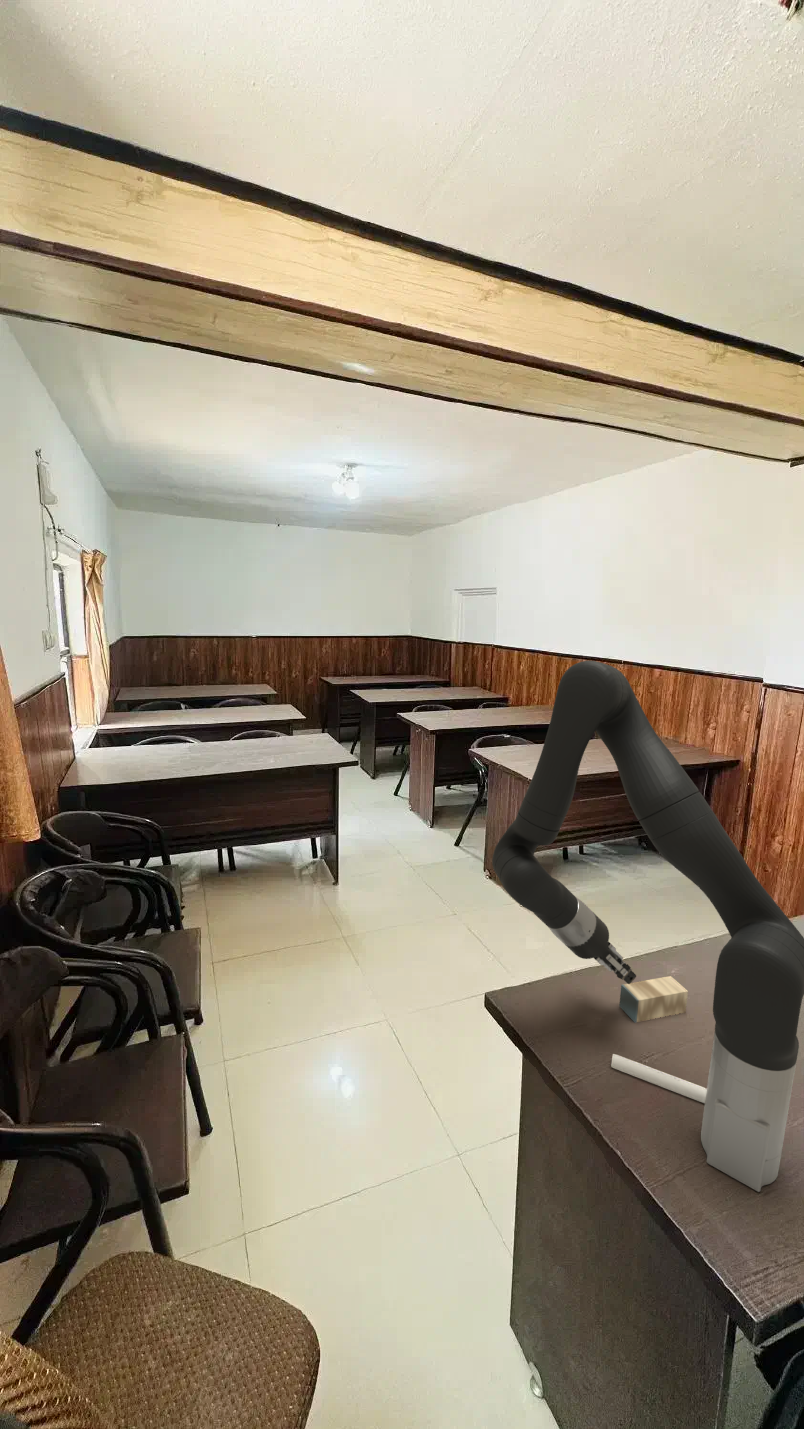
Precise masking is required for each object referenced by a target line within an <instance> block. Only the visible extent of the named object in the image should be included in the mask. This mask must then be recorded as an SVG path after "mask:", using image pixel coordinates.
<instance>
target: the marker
mask: <svg viewBox="0 0 804 1429" xmlns="http://www.w3.org/2000/svg"><path fill="white" fill-rule="evenodd" d="M611 1057H612V1058H611V1064H610V1067H611V1068H613V1069H614V1070H617V1071H619V1072H622V1073H625V1074H628V1075H630V1076H633V1077H636V1078H638V1079H640V1080H643V1081H645V1082H648V1083H650V1084H652V1085H655V1086H658V1087H661V1088H664V1089H666V1090H669V1091H672V1092H674V1093H677V1094H679V1095H682V1096H684V1097H687V1098H689V1099H692V1100H695V1101H697V1102H699V1103H702V1104H704V1105H705V1099H706V1091H707V1087H704V1086H701V1085H699V1084H696V1083H693V1082H690V1081H688V1080H685V1079H683V1078H680V1077H677V1076H675V1075H672V1074H669V1073H667V1072H663V1071H662V1070H659V1069H656V1068H653V1067H650V1066H649V1065H648V1066H647V1065H645V1064H642V1063H640V1062H639V1061H638V1062H637V1061H635V1060H632V1059H630V1058H627V1057H624V1056H621V1055H619V1054H616V1053H612V1056H611Z"/></svg>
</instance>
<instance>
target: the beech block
mask: <svg viewBox="0 0 804 1429" xmlns="http://www.w3.org/2000/svg"><path fill="white" fill-rule="evenodd" d="M688 994H689V991H688V990H687V989H686V988H685V987H684V986H683V985H682V984H680V983H679V982H678V981H677V980H676V979H675V978H673V976H671V975H669V976H663V977H657V978H651V979H647V980H642V981H641V980H640V981H633V982H631V983H630V984H627V983H624V984H620V994H619V995H620V996H619V1004H618V1006H619V1008H621V1010H623V1012H625V1014H626V1015H627V1016H628V1017H629V1018H630V1019H631V1020H632V1022H634V1023H640V1022H645V1021H649V1020H650V1019H651V1020H655V1018H656V1019H660V1017H661V1018H664V1017H665V1016H666V1017H670V1016H669V1015H671V1016H675V1014H676V1015H679V1013H681V1014H685V1013H686V1010H687V1002H688Z"/></svg>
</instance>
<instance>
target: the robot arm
mask: <svg viewBox="0 0 804 1429" xmlns="http://www.w3.org/2000/svg"><path fill="white" fill-rule="evenodd" d="M628 680H629V679H627V677H626V675H624V674H623V672H622V671H620V670H619V669H618V668H616V667H615V666H612V665H610V664H606V663H603V662H601V661H597V660H583V661H579V662H576V663H574V664H573V665H571V666H570V667H569V668H568V669H567V670H566V671H565V672H564V673H563V675H562V677H561V679H560V681H559V684H558V686H557V691H556V694H555V699H554V703H553V708H552V711H551V712H552V713H551V716H550V721H549V725H548V729H547V732H546V736H545V740H544V744H543V746H542V750H541V754H540V756H539V758H538V762H537V765H536V768H535V770H534V773H533V776H532V778H531V780H530V783H529V785H528V788H527V790H526V792H525V794H524V797H523V798H522V802H521V805H520V807H519V808H518V811H517V815H516V817H515V819H514V820H513V822H512V823H511V824H510V825H509V826H508V827H507V829H506V831H505V832H504V833H503V835H502V836H501V837H500V838H499V840H498V842H497V843H496V846H495V848H494V851H493V853H492V859H491V860H492V862H491V864H492V868H493V871H494V873H495V874H496V876H497V877H498V880H499V881H500V883H501V884H502V887H503V888H504V890H505V891H506V893H507V894H508V895H509V896H510V897H511V898H512V899H513V900H514V901H515V902H517V903H518V905H520V906H522V907H524V908H525V909H526V910H527V911H530V912H531V913H532V914H534V915H535V916H536V917H537V918H538V919H539V920H540V921H541V922H542V923H543V924H545V926H546V927H548V929H549V930H550V932H551V933H552V934H553V935H554V936H555V937H556V938H557V939H558V940H559V941H561V942H562V944H563V945H565V946H566V948H568V949H569V950H570V952H572V953H573V954H574V955H575V956H577V957H578V958H580V959H583V960H591V959H594V960H595V961H596V962H597V963H598V964H599V965H600V966H604V968H605V969H606V970H608V971H609V972H613V973H614V975H616V977H617V978H618V979H620V980H622V981H624V982H625V984H630V983H633V982H634V980H635V979H636V978H637V974H636V973H635V972H634V971H633V969H632V968H631V966H630V965H629V964H627V962H626V961H623V959H624V956H622V955H621V953H620V952H618V951H617V948H616V947H615V946H614V945H613V944H612V943H611V942H610V941H609V940H610V930H609V927H608V926H607V924H606V923H605V922H604V921H603V920H602V919H601V918H600V917H598V916H597V914H596V913H595V912H594V911H593V910H592V909H591V908H590V907H589V906H588V905H587V904H585V902H583V901H582V900H581V899H579V898H578V897H577V896H576V895H574V893H572V892H571V890H569V889H568V887H566V886H565V884H563V883H562V882H561V881H559V880H558V879H556V878H554V877H553V876H551V874H549V872H548V871H547V870H546V869H545V868H544V866H543V864H541V862H540V861H539V860H538V859H537V858H536V856H535V853H536V850H537V848H538V846H549V845H551V844H553V843H554V842H555V840H556V839H557V836H558V834H559V833H560V831H561V828H562V825H563V824H564V822H565V819H566V817H567V814H568V812H569V810H570V806H571V804H572V801H573V798H574V794H575V790H576V786H577V780H578V775H579V770H580V766H581V763H582V760H583V756H584V755H585V754H584V753H585V751H586V749H587V746H588V744H589V743H590V741H591V739H592V737H593V735H594V734H595V732H596V734H597V735H598V737H599V738H600V739H601V741H602V743H603V744H604V745H605V746H606V748H607V750H608V751H609V753H610V754H611V756H612V758H613V760H614V762H615V765H616V767H617V770H618V771H617V772H618V773H619V774H618V775H619V777H620V780H621V784H622V787H623V790H624V793H625V795H626V797H627V801H628V803H629V805H630V807H631V809H632V811H633V813H634V815H635V817H636V819H637V820H638V822H639V824H640V825H641V827H642V829H643V831H644V832H645V834H646V835H647V837H648V839H649V840H650V842H651V843H652V845H653V846H654V848H655V849H656V850H657V852H658V853H659V854H660V855H661V856H662V857H663V858H664V859H665V860H666V862H668V863H669V864H670V865H671V866H673V867H674V868H675V869H676V870H677V871H679V872H680V873H682V875H684V876H685V877H686V878H687V879H688V880H690V881H691V882H692V883H693V885H695V886H696V887H697V888H699V890H701V891H702V892H703V894H704V895H705V896H706V897H707V898H708V900H709V901H710V902H711V904H712V906H713V907H714V908H715V910H716V912H717V914H718V915H719V917H720V919H721V920H722V921H723V924H724V926H725V927H726V930H727V931H728V933H729V936H730V939H729V940H728V941H727V943H726V944H725V945H724V946H723V948H722V949H721V951H720V953H719V956H718V959H717V965H716V971H715V978H714V979H715V980H714V981H715V982H714V991H713V1004H712V1013H713V1014H712V1015H713V1019H714V1020H715V1021H714V1022H715V1023H714V1024H715V1025H714V1034H713V1040H712V1041H713V1042H712V1049H711V1055H710V1064H709V1070H708V1071H709V1072H708V1078H707V1084H706V1088H707V1091H706V1099H705V1104H704V1105H703V1106H704V1108H703V1115H702V1123H701V1132H700V1141H701V1145H702V1147H703V1150H704V1152H705V1153H706V1163H707V1164H708V1165H710V1166H712V1167H714V1168H715V1169H717V1170H719V1171H721V1172H723V1173H724V1174H726V1175H727V1176H729V1177H731V1178H733V1179H735V1180H736V1181H737V1182H740V1183H742V1184H743V1185H745V1186H747V1187H749V1188H750V1189H752V1190H753V1191H756V1192H758V1193H759V1192H761V1190H762V1187H764V1186H766V1185H767V1186H768V1185H770V1184H772V1183H774V1182H775V1180H776V1179H777V1178H778V1175H779V1170H780V1164H781V1158H782V1152H783V1145H784V1139H785V1133H786V1126H787V1122H788V1115H789V1108H790V1103H791V1096H792V1089H793V1085H794V1078H795V1073H796V1069H797V1068H796V1066H797V1060H798V1054H799V1049H800V1043H799V1038H798V1036H797V1033H798V1028H799V1027H798V1026H799V1019H800V1014H801V1007H802V1001H803V997H804V936H803V935H802V933H801V932H800V930H798V928H797V927H796V926H795V925H794V923H793V922H792V921H791V920H790V919H789V917H788V916H787V915H786V914H785V912H784V911H783V910H782V908H781V907H780V906H779V905H778V904H777V903H776V901H775V900H774V899H773V898H772V896H771V895H770V894H769V892H767V890H766V889H765V888H764V887H763V885H762V884H761V882H760V881H759V880H758V878H757V877H756V875H754V873H753V871H752V870H751V868H750V866H749V865H748V864H747V862H746V860H745V859H744V857H743V855H742V854H741V852H740V851H739V849H738V848H737V846H736V845H735V844H734V842H733V840H732V839H731V838H730V835H729V834H728V833H727V831H726V830H725V829H724V826H723V825H722V823H721V821H719V819H718V817H717V816H716V813H715V812H714V810H713V809H712V807H711V806H710V805H709V802H708V801H706V799H705V796H703V795H702V793H701V792H700V789H699V788H698V787H697V786H696V784H695V783H694V781H693V780H692V779H691V778H690V776H689V775H688V773H687V772H686V771H685V769H684V768H683V766H682V765H681V763H680V762H679V761H678V759H677V758H676V757H675V756H674V754H673V753H672V752H671V751H670V749H668V747H667V746H666V745H665V743H664V742H663V741H662V739H661V738H660V737H659V735H658V734H657V732H656V731H655V729H654V728H653V727H652V724H651V723H650V721H649V719H648V717H647V715H646V714H645V712H644V710H643V708H642V706H641V704H640V703H639V701H638V698H637V696H636V695H635V693H634V692H635V691H634V690H633V688H632V686H631V684H630V682H629V681H628Z"/></svg>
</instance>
